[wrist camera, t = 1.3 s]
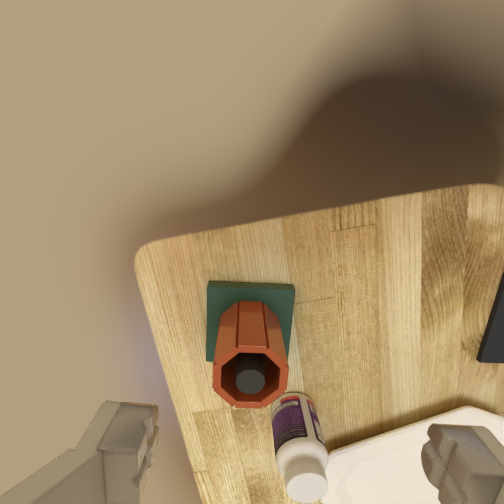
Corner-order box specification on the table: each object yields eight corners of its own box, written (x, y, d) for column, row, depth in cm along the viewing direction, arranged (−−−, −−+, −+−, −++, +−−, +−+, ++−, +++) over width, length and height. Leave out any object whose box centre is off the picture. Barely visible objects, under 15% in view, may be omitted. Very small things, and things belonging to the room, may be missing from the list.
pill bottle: (264, 420, 40) (270, 502, 30) (279, 385, 38) (290, 461, 29) (304, 430, 40) (322, 514, 31) (321, 397, 39) (345, 475, 30)
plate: (298, 449, 41) (301, 465, 39) (489, 384, 39) (504, 397, 37) (356, 564, 48) (361, 582, 46) (520, 514, 46) (534, 532, 44)
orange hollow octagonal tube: (220, 299, 33) (213, 344, 25) (280, 301, 33) (291, 347, 26) (219, 351, 35) (211, 407, 27) (275, 353, 35) (284, 409, 27)
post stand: (208, 280, 34) (194, 331, 24) (293, 284, 34) (311, 335, 25) (207, 353, 37) (194, 424, 27) (285, 356, 37) (300, 427, 27)
